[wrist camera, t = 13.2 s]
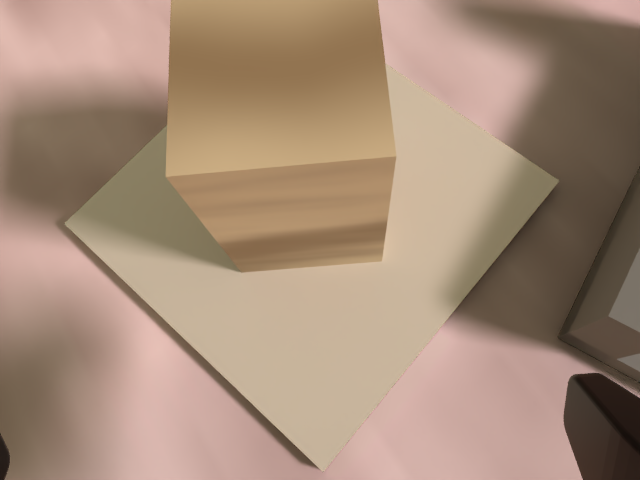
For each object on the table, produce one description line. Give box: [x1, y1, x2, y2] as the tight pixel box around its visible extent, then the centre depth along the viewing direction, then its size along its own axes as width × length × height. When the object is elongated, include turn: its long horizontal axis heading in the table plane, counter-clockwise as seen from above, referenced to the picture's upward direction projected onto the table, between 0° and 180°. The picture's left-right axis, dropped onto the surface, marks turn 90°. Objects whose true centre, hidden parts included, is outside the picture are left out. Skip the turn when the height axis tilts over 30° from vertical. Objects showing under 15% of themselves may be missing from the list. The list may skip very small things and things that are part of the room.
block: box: [166, 0, 396, 273], centre depth 16 cm, size 5×5×8 cm
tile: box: [64, 64, 559, 472], centre depth 20 cm, size 13×13×1 cm
